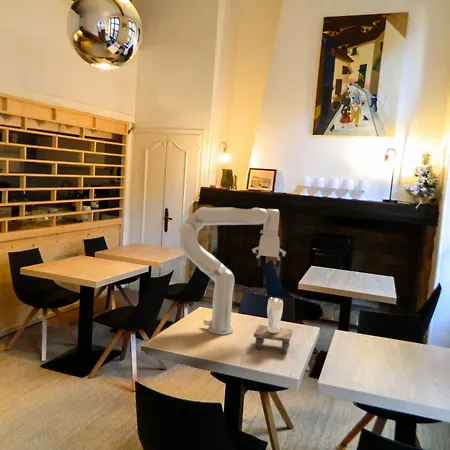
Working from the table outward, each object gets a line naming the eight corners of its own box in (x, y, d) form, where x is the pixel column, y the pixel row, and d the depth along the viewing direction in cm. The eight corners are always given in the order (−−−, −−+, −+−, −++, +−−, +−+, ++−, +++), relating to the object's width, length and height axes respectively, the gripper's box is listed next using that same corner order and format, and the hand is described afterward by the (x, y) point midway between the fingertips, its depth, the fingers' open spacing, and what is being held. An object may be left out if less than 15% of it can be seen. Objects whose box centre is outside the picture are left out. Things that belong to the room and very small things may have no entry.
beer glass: (273, 335, 198) (276, 302, 196) (262, 330, 203) (264, 298, 201) (283, 332, 202) (286, 300, 201) (272, 328, 207) (275, 297, 206)
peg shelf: (252, 349, 198) (253, 333, 198) (257, 339, 212) (259, 324, 211) (288, 355, 194) (289, 339, 194) (291, 344, 208) (292, 329, 207)
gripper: (252, 232, 220) (249, 266, 222) (286, 235, 216) (283, 270, 218) (254, 231, 227) (252, 263, 229) (288, 234, 223) (285, 267, 225)
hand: (267, 266), depth 223 cm, fingers open, 9 cm apart
